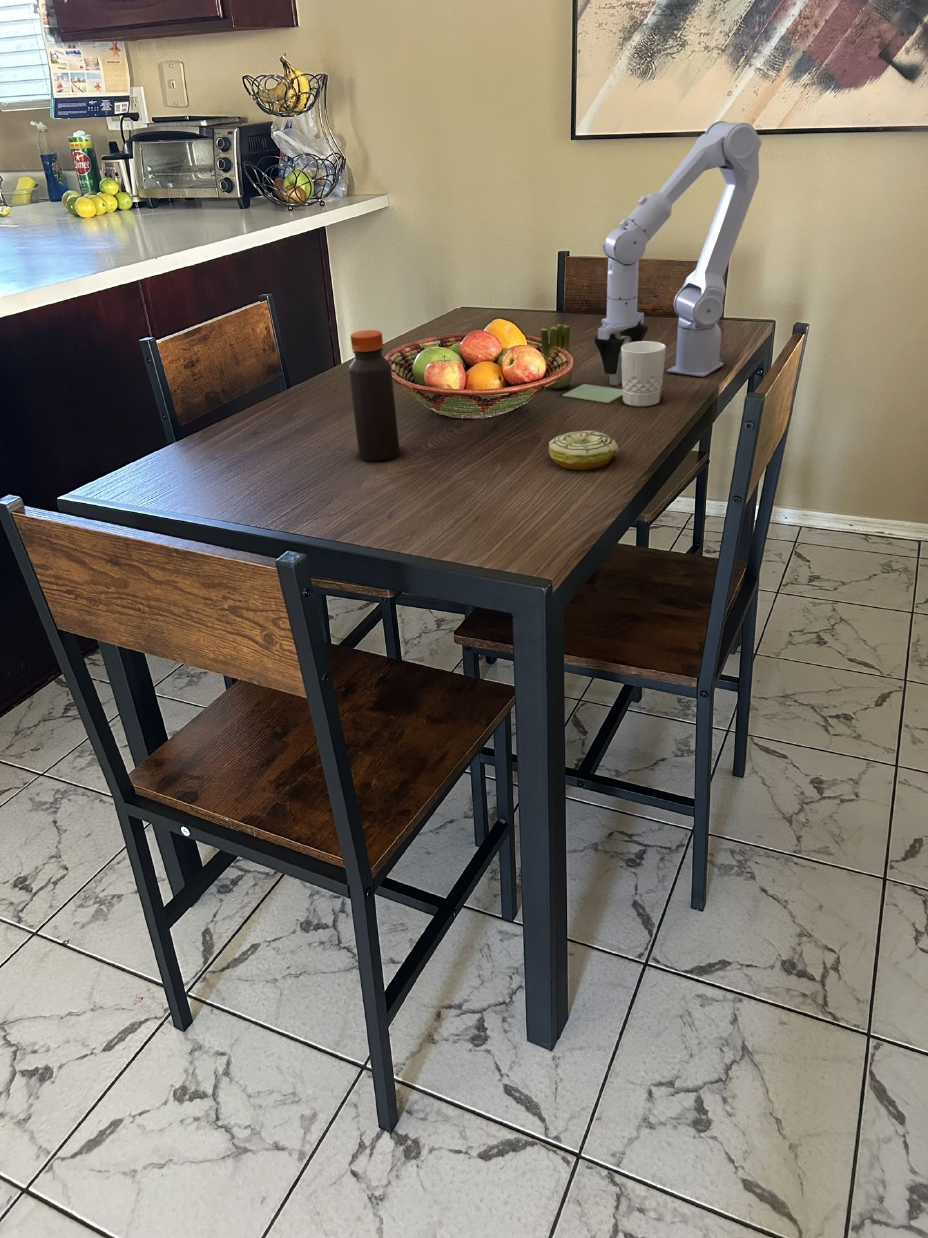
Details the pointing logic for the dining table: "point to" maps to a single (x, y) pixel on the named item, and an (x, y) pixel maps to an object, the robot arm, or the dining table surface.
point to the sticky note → (595, 393)
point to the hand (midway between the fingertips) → (620, 368)
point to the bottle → (373, 398)
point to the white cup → (642, 372)
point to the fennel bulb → (558, 339)
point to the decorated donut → (582, 449)
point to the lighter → (619, 365)
